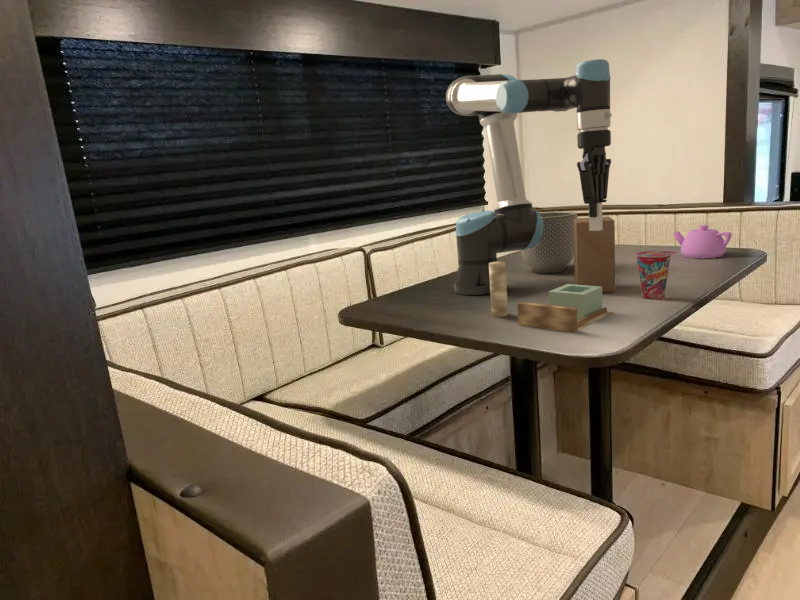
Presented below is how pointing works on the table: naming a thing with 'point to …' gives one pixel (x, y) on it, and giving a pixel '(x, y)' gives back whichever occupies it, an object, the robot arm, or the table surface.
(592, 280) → the wooden block
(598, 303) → the pale green hollow block
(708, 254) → the teapot
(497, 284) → the dowel
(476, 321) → the table surface
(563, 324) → the rail board
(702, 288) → the table surface
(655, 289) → the cup
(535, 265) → the planter
